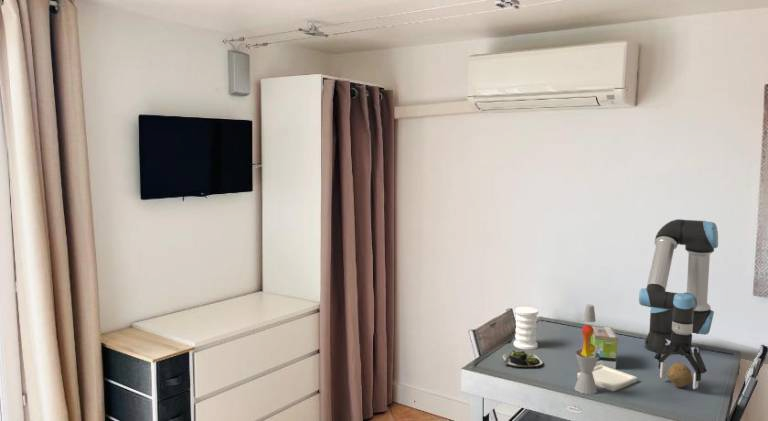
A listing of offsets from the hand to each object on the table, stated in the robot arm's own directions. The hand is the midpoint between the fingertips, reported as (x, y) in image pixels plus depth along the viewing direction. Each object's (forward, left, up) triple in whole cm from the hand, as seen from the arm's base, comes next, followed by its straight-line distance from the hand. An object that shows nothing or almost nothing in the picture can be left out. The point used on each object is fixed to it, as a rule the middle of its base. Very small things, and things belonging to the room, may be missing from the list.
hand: (678, 382), depth 241 cm
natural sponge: (0, 0, -2) cm, 2 cm away
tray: (+18, -21, -2) cm, 28 cm away
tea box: (+2, -34, -2) cm, 34 cm away
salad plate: (+32, -55, -2) cm, 64 cm away
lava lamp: (+34, -20, -2) cm, 39 cm away
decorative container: (+13, -69, -2) cm, 70 cm away
